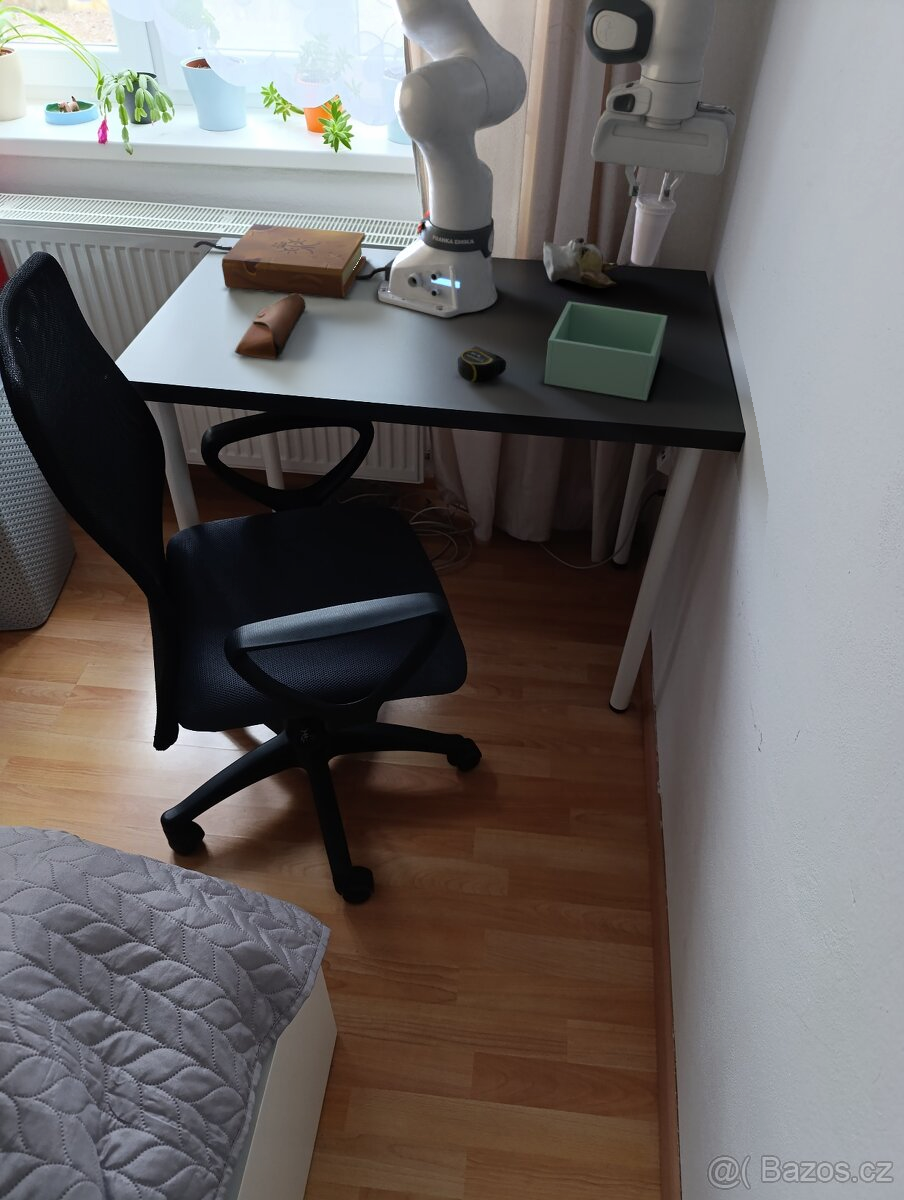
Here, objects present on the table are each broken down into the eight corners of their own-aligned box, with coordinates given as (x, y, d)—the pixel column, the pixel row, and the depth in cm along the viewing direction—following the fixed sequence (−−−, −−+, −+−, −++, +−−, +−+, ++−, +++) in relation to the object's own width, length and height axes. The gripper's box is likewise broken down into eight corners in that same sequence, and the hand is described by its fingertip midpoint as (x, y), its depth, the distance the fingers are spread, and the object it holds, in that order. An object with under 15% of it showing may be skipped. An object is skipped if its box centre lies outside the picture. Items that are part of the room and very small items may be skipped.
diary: (226, 290, 159) (220, 260, 155) (257, 252, 172) (253, 223, 168) (343, 300, 156) (340, 269, 152) (366, 260, 170) (364, 231, 166)
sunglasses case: (261, 306, 153) (275, 276, 149) (295, 327, 155) (310, 298, 151) (232, 354, 140) (247, 323, 136) (270, 375, 142) (286, 345, 138)
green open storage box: (544, 383, 135) (548, 339, 130) (563, 343, 145) (568, 301, 140) (646, 400, 131) (655, 356, 126) (659, 358, 141) (667, 315, 136)
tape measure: (507, 377, 136) (509, 355, 134) (479, 392, 133) (480, 370, 130) (477, 362, 140) (477, 341, 137) (448, 376, 136) (448, 355, 134)
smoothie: (660, 272, 136) (684, 182, 126) (621, 266, 137) (642, 175, 127) (661, 256, 141) (684, 168, 131) (623, 250, 141) (643, 162, 131)
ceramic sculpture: (547, 222, 161) (624, 233, 160) (541, 266, 168) (615, 276, 167) (542, 244, 154) (623, 255, 153) (536, 289, 160) (613, 300, 159)
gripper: (741, 100, 122) (718, 199, 132) (603, 86, 126) (591, 182, 136) (738, 111, 118) (715, 213, 128) (596, 96, 122) (583, 195, 132)
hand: (650, 197), depth 132 cm, fingers closed on smoothie, 4 cm apart
